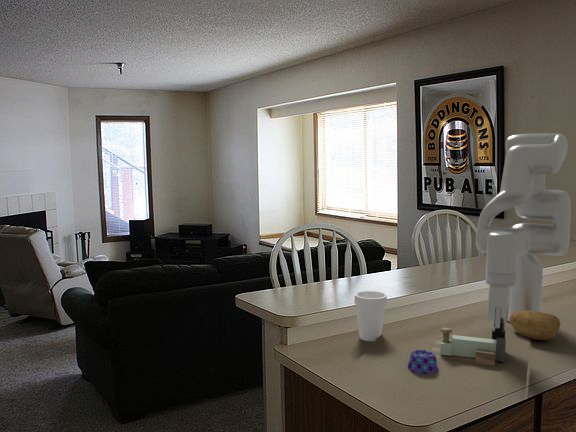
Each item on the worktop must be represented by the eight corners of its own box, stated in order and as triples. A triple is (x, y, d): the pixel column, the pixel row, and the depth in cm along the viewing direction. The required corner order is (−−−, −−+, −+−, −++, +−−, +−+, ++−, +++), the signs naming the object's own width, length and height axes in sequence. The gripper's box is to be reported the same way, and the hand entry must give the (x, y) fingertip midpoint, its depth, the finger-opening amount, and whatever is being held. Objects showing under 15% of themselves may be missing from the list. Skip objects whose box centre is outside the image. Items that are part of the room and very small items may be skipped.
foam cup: (385, 344, 161) (386, 299, 160) (353, 342, 163) (353, 298, 162) (386, 333, 170) (387, 291, 169) (355, 331, 172) (356, 290, 171)
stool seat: (438, 341, 163) (438, 315, 162) (500, 350, 156) (501, 322, 155) (427, 360, 148) (428, 332, 147) (496, 370, 141) (497, 340, 140)
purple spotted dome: (423, 387, 132) (423, 366, 132) (387, 371, 142) (388, 351, 142) (457, 376, 139) (458, 355, 138) (421, 361, 149) (422, 341, 148)
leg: (440, 354, 148) (440, 336, 148) (442, 349, 152) (442, 331, 152) (504, 362, 143) (505, 343, 142) (505, 356, 146) (505, 338, 146)
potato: (517, 329, 173) (518, 304, 172) (565, 340, 163) (566, 313, 162) (502, 336, 167) (503, 310, 166) (551, 348, 156) (552, 320, 156)
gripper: (488, 271, 158) (486, 335, 160) (482, 283, 145) (480, 352, 147) (517, 273, 155) (514, 338, 157) (514, 285, 141) (511, 356, 144)
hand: (498, 344), depth 152 cm, fingers closed
